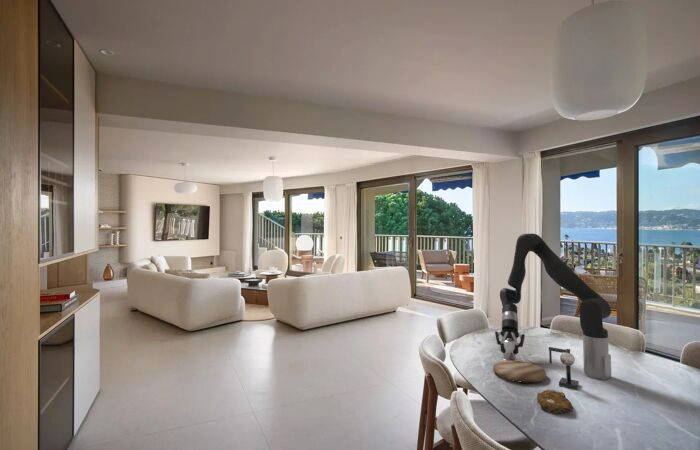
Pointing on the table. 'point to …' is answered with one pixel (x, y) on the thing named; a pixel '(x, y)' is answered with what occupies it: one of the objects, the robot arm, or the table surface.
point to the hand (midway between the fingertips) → (509, 352)
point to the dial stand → (568, 361)
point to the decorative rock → (554, 401)
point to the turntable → (519, 371)
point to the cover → (509, 350)
